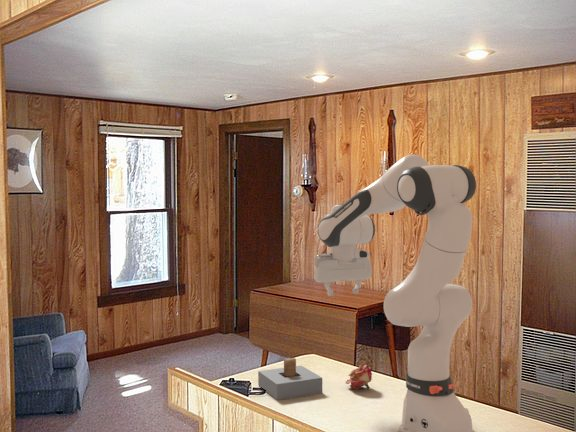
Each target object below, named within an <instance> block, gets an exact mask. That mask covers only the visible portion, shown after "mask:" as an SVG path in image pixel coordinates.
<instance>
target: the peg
mask: <svg viewBox="0 0 576 432" xmlns="http://www.w3.org/2000/svg"><path fill="white" fill-rule="evenodd" d="M296 366H297V359H296V358H295V357H285V358H283V368H284V377H285V378H287V377H294V376H296Z"/></svg>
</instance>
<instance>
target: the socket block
mask: <svg viewBox="0 0 576 432" xmlns="http://www.w3.org/2000/svg"><path fill="white" fill-rule="evenodd" d="M257 373H258V374H257V375H258V376H257V377H258V379H257V381H258V385H259V386H260V387H259V386H258V387H259V388H261V387H262V388H264V389H265V390H266V391H265V392H266V393H267V394H269V396H271V397H273V398H274V399H275V400H276V401H281V400H287V399H294V398H300V397H306V396H312V395H318V394H319V395H320V394H323V377H322V376H321V375H318V374H317V373H315V372H313V371H311V370H310V369H308V368H306V367H305V366H303V365H296V376H294V377H287V378H285V377H284V367H279V368H271V369H265V370H264V369H263V370H258V371H257ZM262 388H261V389H262Z"/></svg>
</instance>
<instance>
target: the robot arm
mask: <svg viewBox="0 0 576 432" xmlns="http://www.w3.org/2000/svg"><path fill="white" fill-rule="evenodd" d="M476 189H477V180H476V176H475V175H474V173H473V171H472V170H471V169H469V168H468V167H465V166H462V165H459V164H458V165H457V164H450V165H444V164H441V165H440V164H430V163H429V162H428V161H427V160H426V159H425V158H424V157H423V156H420V155H418V154H407V155H405V156H403V157H402V158H400V159H398V161H396V162H395V163H394V164H392V165H391V166H390V167H389V168H388V169H387V170H386V171H385V172H384V173H383V174H382V175H381V176H380V177H379V178H378V179H376V180H375V181H373V182H372V183H371V184H370V185H368V186H366V187H365V188H363V189H362V190H360V191H358V192H357V193H355V194H354V195H353V196H351V197H350V198H348V200H346V201H345V202H344V203H340V204H335V205H333V206H332V207H331V209H330V213H329V214H328V213H327V214H325V215H324V216H323V217H322V218H321V220H320V221H319V223H318V225H317V234H318V238H319V239H320V240H321V241H322V243H323V244H324V245H326V246H327V247H329V253H319V254H318V255H316V256H315V258H314V271H313V272H314V273H313V279H314V281H315V282H316V283H320V284H322V283H323V286H324V287H325V290H326V293H327V296H328V297H331V296H334V292H335V291H334V290H333V289H332V288H331V287H330V286H331V285H332V283H334V282H335V283H336V282H339V283H340V282H351V281H354V283H355V284H354V285H355V286H354V287H353V288H351V289H352V292H351V293H352V294H354V295H357V294H359V290H360V287H361V286H362V284H363V283H362V281H364V280H365V281H366V280H370V279H371V277H372V275H373V273H372V262H371V259H370V256H371V253H370V252H369V250H365V249H361V248H358V247H357V245H366V244H370V243H371V242H372V241H373V239H374V238H375V235H376V225H375V221H374V220H373V219H372V217H371V216H370V215H375V214H385V213H394V212H398V211H401V210H402V209H404V208H405V207H408V208H409V209H411V210H413V211H414V212H415V213H416V215H419V216H424V215H427V217H428V224H427V229H426V231H425V235H424V240H423V241H422V242H423V244H422V246H421V250H420V253H419V255H418V259H417V262H416V263H415V264H414V267H413V268H412V270H411V271H410V272H409V274H407V276H406V277H405V279H403V281H401V283H399V284H398V285H397V286H395V287H394V288H392V289H390V290H389V291H388V292H387V293H386V295H385V297H384V300H383V313H384V315H385V317H386V319H387V320H388V321H389V322H390V323H391V324H392V325H393V326H394V325H395V326H400V327H405V328H407V327H409V328H413V327H423V328H422V330H421V332H420V333H419V335H418V336H417V337H415V338H414V339H413V340H412V341H410V343H409V345H408V347H407V372H406V376H405V386H406V387H405V388H407V390H406V394H405V397H404V399H403V407H402V417H401V424H399V426H398V432H476V430H474V429H473V422H472V421H473V420H472V416H471V414H470V411H469V409H468V408H467V407H465V406H464V405H463V404H462V402H461V401H460V399H459V398H458V397H457V396H456V394H455V392H454V391H455V389H456V388H457V387H456V386H457V384H456V383H453V381H452V378H451V375H450V359H451V347H452V343H453V340H454V338H455V334H456V333H457V331H458V329H459V327H460V326H461V325H462V323H463V322H464V321H465V320H466V319H467V318H469V317H470V315H471V313H472V311H473V298H472V296H471V294H470V292H469V291H468V289H467V288H466V287H465V286H462V285H460V284H459V285H458V284H453V283H451V282H452V281H453V282H454V280H455V279H457V278H458V276H459V275H460V273H461V271H462V267H463V265H464V261H465V258H466V254H467V251H468V249H469V248H468V247H469V243H470V240H471V235H472V229H473V228H472V227H473V213H472V210H471V209H470V208H469V207H468V206H466V204H464V203H466V202H468V201H470V200H471V199H472V198H473V197H474V195H475V193H476Z"/></svg>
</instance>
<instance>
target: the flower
mask: <svg viewBox="0 0 576 432" xmlns="http://www.w3.org/2000/svg"><path fill="white" fill-rule="evenodd" d="M361 365H362V364H359V366H358V367H357V368H355V369H352V370H351V371H350V373H348V376H349V379H346V381H345V384H347V385H349V388H350V389H351V390H355V389H360V388H362V387H365V388H366V389H367V390H370V389H371V387H370V386H369V383H371V382H372V380H373V371H372V370H373V369H372V368H371V367H370V366H369V365H368V364H366V365H365V364H364V365H362V366H361Z"/></svg>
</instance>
